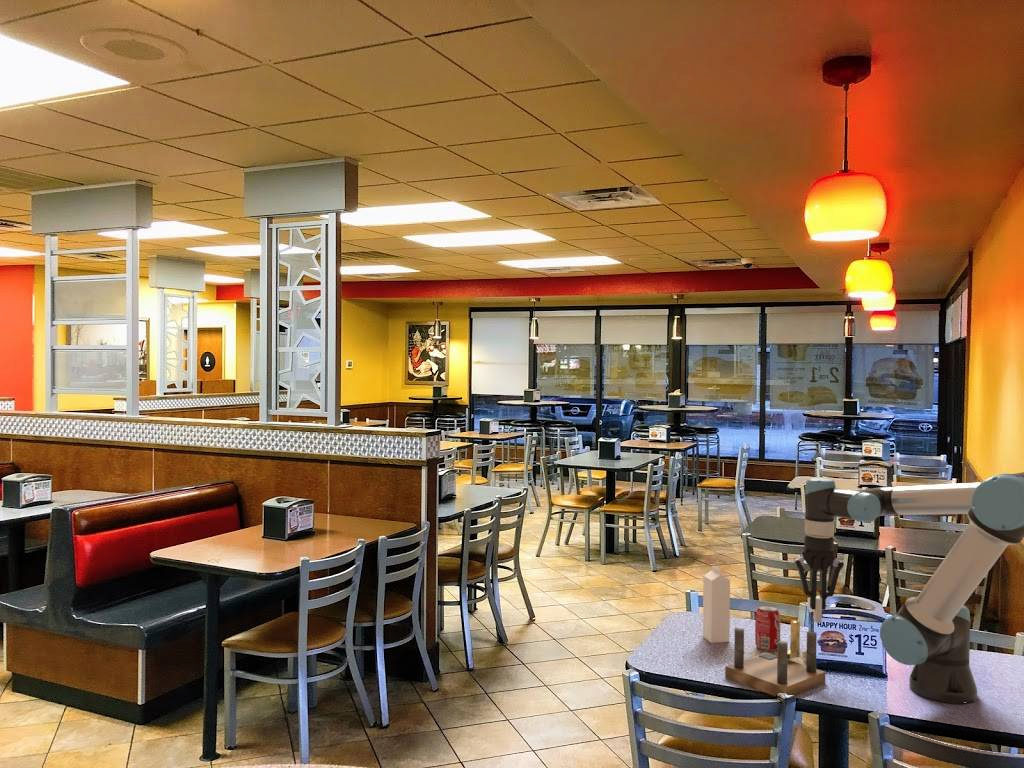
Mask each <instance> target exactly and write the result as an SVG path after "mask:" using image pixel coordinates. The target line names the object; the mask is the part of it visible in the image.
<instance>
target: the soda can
mask: <svg viewBox="0 0 1024 768" xmlns="http://www.w3.org/2000/svg"><path fill="white" fill-rule="evenodd" d="M754 620H755V621H754V622H755V623H754V624H755V625H754V636H755V637H754V640H755V641H754V642H755V646H756V647H757V648H759V649H760V650H761V649H762V651H765V650H767V651H766V652H774V651H773V650H775V651H776V650H777V649H778V641H781V614H780V612H779V608H778V607H777V606H775V605H771V604H760V605H758V606H757V610H756V611H755V618H754Z"/></svg>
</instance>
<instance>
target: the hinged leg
mask: <svg viewBox="0 0 1024 768" xmlns="http://www.w3.org/2000/svg"><path fill="white" fill-rule="evenodd" d="M800 636H801V622H800V620H795V619H793V620H790V645H789V646H790V647H789V648H790V649H789V650H788V657H787V659H788V660H793V659H795V658H797V659H798V658H800V654H801V653H800V652H801V647H800V646H801V644H800V643H801V637H800Z"/></svg>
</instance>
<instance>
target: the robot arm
mask: <svg viewBox="0 0 1024 768" xmlns="http://www.w3.org/2000/svg"><path fill="white" fill-rule="evenodd" d="M804 500H805V501H804V504H805V508H804V509H805V510H804V511H805V513H804V514H805V515H804V533H805V535H804V539H803V541H804V543H803V544H804V547H803V548H804V549H803V552H802V554H801V556H800V557H798V558H796V557H795V558H793V562H794V564H795V565H796V567H797V571H798V576H799V581H800V584H801V585H800V586H801V589H802V592H803V594H804V595H806V596H808V597H809V607H810V609H811V610H813V617H812V619H813V621H814V622H815V623H820V624H821V623H822V621H823V620H822V619H823V618H822V617H823V614H822V613H823V610H824V611H825V610H826V608H827V606H826V604H827V601H826V600H827V598H829V597H833V596H834V593H835V590H836V586H837V582H838V579H839V577H840V576H839V575H840V571H841V570H842V569H843V568H844V566H845V564H844V562H843V561H841V560H840V559H837V557H836V554H835V553H834V551H835V550H834V548H835V546H834V544H835V542H834V541H835V538H834V537H833V536H834V535H835V517H837V518H843V519H847V520H851V521H856V522H860V523H861V522H865V523H873V522H875V521H876V519H877V518H879V517H881V516H882V517H883V516H910V515H912V516H913V515H966V516H967V519H968V522H969V523H968V524H967V525H966V527H965V529H964V530H963V531H962V533H961V534H960V536H959V537H958V538H957V540H956V542H955V543H954V545H953V546H952V547H951V549H950V550H949V552H948V553H947V554H946V555H945V557H944V558H943V560H942V562H941V563H940V564H939V566H938V567H937V569H936V570H935V572H934V573H933V574H932V575H931V577H930V579H928V581H927V583H926V584H925V585H924V587H923V588H922V589H921V591H920V593H919V594H918V596H911V597H908V598H907V599H906V600H905V601H904V603H903V605H902V606H901V607H900V609H898V612H897V613H895V615H891V616H888V617H887V618H885V619H884V620H883V622H882V623H881V624H880V628H879V638H880V641H881V646H882V647H883V648H884V650H885V651H886V653H887V654H888V655H889V656H890V657H891V659H893V660H895V661H896V662H898V663H899V664H902V665H905V666H913V668H912V671H911V673H910V676H909V681H908V683H909V689H910V690H911V691H912V692H913V693H915V694H917V695H919V696H921V697H924V698H926V699H929V700H932V701H938V702H941V701H942V702H941V703H947V702H948V704H957V703H964V702H971V703H973V702H972V701H974V700H976V699H977V700H978V688H977V684H976V681H975V679H974V676H973V671H972V670H971V666H970V652H971V651H970V649H971V647H970V646H971V645H970V643H971V641H970V640H971V623H972V622H971V621H972V620H971V617H970V616H971V614H970V609H969V608H968V607H967V606H966V605H965V604H966V602H967V601H968V599H969V598H970V597H971V595H972V594H973V593H974V592H975V590H976V589H977V588H978V586H980V583H981V582H982V581H983V579H984V578H985V577H986V575H987V574H988V573H989V571H990V570H991V569H992V568H993V566H994V565H995V563H997V561H998V559H999V558H1000V557H1001V555H1003V552H1004V551H1005V550H1006V548H1007V547H1008V546H1014V545H1015V546H1016V545H1019V544H1020V543H1021V542H1022V541H1023V540H1024V472H1023V471H1022V472H1017V473H999V474H997V475H993V476H991V477H988V478H986V479H984V480H983V481H981V482H964V483H963V482H960V483H946V484H945V483H944V484H941V483H940V484H939V483H938V484H922V485H920V484H919V485H905V486H887V485H886V486H880V487H874V488H865V489H857V490H852V489H851V490H850V489H841V488H838V487H836V482H835V481H834V479H830V478H825V477H812V478H808V479H807V480H806V483H805V493H804ZM804 561H805V562H806V564H807V566H808V567H809V584H808V580H807V576H806V575H807V574H806V571H805V568H804V566H805V562H804ZM832 565H833V567H832V569H831V573H830V577H829V581H828V582H827V580H828V578H827V577H828V576H827V574H828V569H829V567H830V566H832ZM818 570H819V595H817V587H818V584H817V583H818V582H817V581H818V580H817V579H818ZM827 583H828V584H827ZM808 585H809V586H808ZM977 700H976V701H977ZM974 702H975V701H974ZM964 704H965V703H964Z"/></svg>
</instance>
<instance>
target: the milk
mask: <svg viewBox="0 0 1024 768" xmlns="http://www.w3.org/2000/svg"><path fill="white" fill-rule="evenodd" d="M702 577H703V579H702V580H703V582H702V585H703V586H702V587H703V588H702V589H703V591H702V592H703V593H702V595H703V596H702V601H703V602H702V603H703V604H702V637H703V638H704V639H705V640H706V641H708V642H709V643H711V644H714V643H715V644H717V643H729V642H730V633H731V631H730V629H731V627H730V625H731V623H730V619H731V615H730V614H731V613H730V612H731V579H730V578H728V577H726V576H724V575H723V574H722V569H721V568H719V567H717V566H715V565H711V570H710V571H709V572H707V573H704V574H703V575H702Z"/></svg>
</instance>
